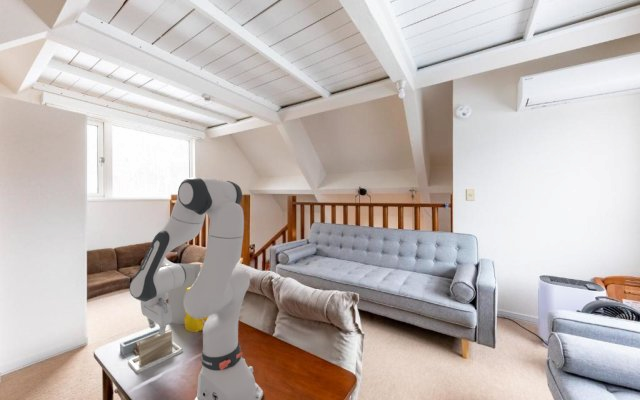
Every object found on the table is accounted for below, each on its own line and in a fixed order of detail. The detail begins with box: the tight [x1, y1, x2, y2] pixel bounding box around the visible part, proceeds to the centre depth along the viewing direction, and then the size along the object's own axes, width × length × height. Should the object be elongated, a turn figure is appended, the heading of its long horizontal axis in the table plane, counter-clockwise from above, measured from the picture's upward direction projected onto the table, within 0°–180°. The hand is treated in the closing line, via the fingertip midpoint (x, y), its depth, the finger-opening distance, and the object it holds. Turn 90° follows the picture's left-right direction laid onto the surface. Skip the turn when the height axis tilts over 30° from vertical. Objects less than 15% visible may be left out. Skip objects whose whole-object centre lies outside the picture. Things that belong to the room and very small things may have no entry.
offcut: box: [133, 348, 139, 356], centre depth 106 cm, size 5×9×1 cm, turn 143°
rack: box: [119, 327, 160, 361], centre depth 107 cm, size 12×15×4 cm
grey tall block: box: [167, 263, 201, 325], centre depth 130 cm, size 14×6×30 cm, turn 84°
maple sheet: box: [138, 328, 173, 367], centre depth 101 cm, size 2×11×9 cm, turn 143°
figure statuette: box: [184, 287, 208, 333], centre depth 122 cm, size 18×8×22 cm, turn 71°
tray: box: [127, 340, 184, 374], centre depth 101 cm, size 10×16×2 cm, turn 143°
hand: (157, 330), depth 100 cm, fingers open, 8 cm apart
